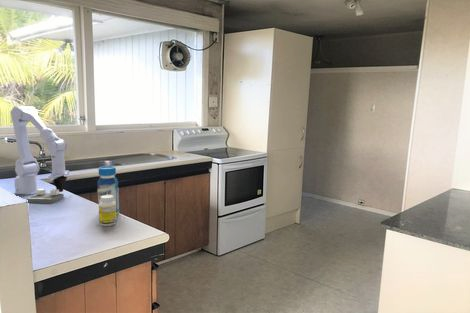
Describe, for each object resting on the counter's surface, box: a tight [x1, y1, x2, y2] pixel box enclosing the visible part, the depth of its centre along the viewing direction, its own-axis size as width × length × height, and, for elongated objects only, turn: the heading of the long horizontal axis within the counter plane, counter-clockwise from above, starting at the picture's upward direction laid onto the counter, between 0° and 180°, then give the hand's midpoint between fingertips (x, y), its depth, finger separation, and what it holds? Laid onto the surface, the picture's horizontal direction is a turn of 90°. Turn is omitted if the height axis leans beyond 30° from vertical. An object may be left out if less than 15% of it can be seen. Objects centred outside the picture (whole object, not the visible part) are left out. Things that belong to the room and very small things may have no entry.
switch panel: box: [26, 192, 65, 204], centre depth 170 cm, size 12×10×2 cm
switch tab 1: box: [35, 188, 47, 195], centre depth 172 cm, size 3×2×2 cm
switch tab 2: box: [49, 188, 60, 195], centre depth 172 cm, size 3×2×2 cm
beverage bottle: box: [96, 165, 120, 215], centre depth 150 cm, size 8×8×20 cm
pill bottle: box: [98, 195, 118, 227], centre depth 138 cm, size 6×6×11 cm
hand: (60, 191), depth 176 cm, fingers closed
